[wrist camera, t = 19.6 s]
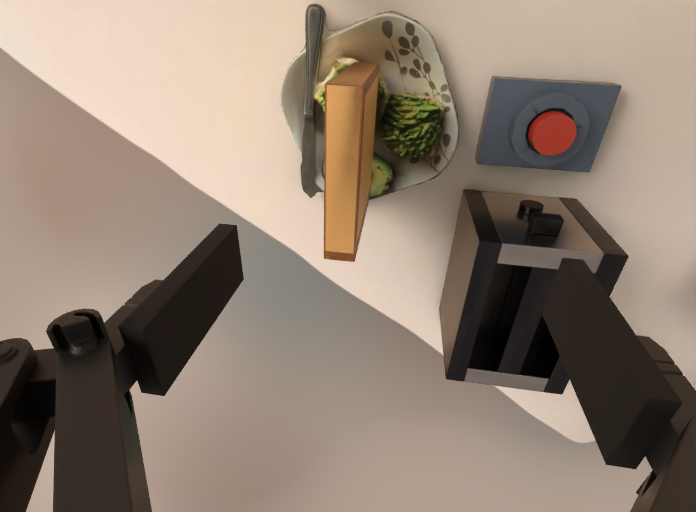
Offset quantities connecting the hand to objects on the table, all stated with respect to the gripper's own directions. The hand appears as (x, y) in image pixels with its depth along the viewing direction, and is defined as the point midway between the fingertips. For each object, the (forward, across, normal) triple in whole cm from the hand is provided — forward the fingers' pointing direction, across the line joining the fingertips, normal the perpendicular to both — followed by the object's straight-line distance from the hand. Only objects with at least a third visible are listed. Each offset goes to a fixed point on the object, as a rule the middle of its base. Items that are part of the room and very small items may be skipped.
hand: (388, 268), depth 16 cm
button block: (+29, -13, 0) cm, 32 cm away
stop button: (+26, -13, 0) cm, 29 cm away
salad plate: (+29, +4, 0) cm, 29 cm away
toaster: (+29, -13, +16) cm, 35 cm away
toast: (+24, +4, 0) cm, 24 cm away
